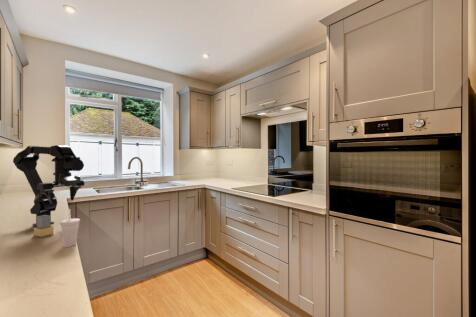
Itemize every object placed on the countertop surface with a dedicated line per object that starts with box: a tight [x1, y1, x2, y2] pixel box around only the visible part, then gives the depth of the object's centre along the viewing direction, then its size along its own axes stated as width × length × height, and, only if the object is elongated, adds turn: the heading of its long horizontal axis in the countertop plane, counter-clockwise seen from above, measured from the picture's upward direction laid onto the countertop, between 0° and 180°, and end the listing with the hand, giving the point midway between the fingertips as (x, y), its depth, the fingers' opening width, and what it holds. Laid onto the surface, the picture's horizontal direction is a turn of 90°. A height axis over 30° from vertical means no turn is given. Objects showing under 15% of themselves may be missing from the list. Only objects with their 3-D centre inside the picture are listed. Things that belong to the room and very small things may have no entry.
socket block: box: [33, 225, 54, 239], centre depth 100 cm, size 5×5×4 cm
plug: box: [36, 215, 51, 229], centre depth 100 cm, size 4×3×8 cm
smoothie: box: [59, 208, 81, 248], centre depth 89 cm, size 6×6×14 cm
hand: (62, 202), depth 114 cm, fingers open, 9 cm apart
